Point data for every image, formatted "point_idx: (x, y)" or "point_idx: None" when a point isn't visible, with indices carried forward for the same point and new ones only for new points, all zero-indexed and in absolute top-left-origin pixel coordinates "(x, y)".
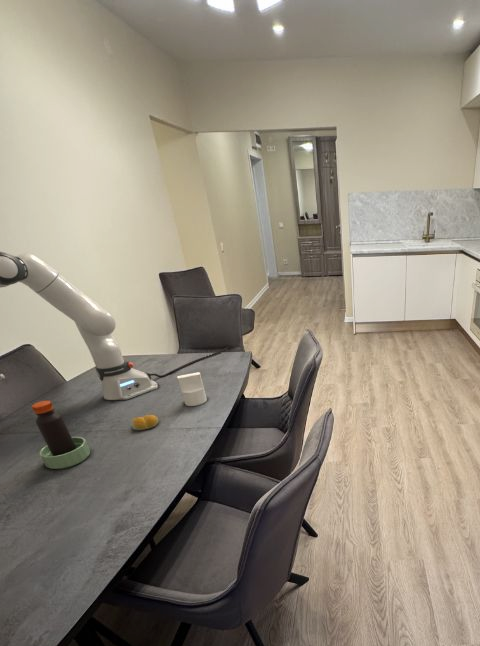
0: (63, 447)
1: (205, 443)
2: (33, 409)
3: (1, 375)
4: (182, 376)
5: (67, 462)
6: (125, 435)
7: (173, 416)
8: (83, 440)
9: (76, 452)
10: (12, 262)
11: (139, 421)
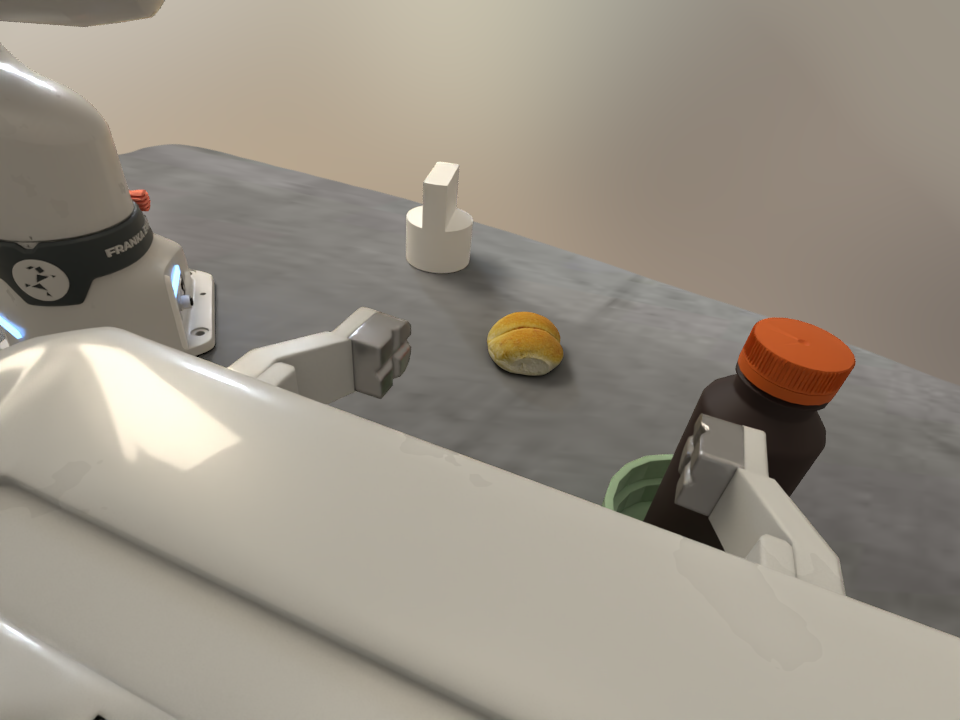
0: None
1: (718, 302)
2: (839, 383)
3: (394, 317)
4: (439, 179)
5: None
6: (562, 400)
7: (504, 303)
8: (668, 459)
9: None
10: None
11: (551, 338)
